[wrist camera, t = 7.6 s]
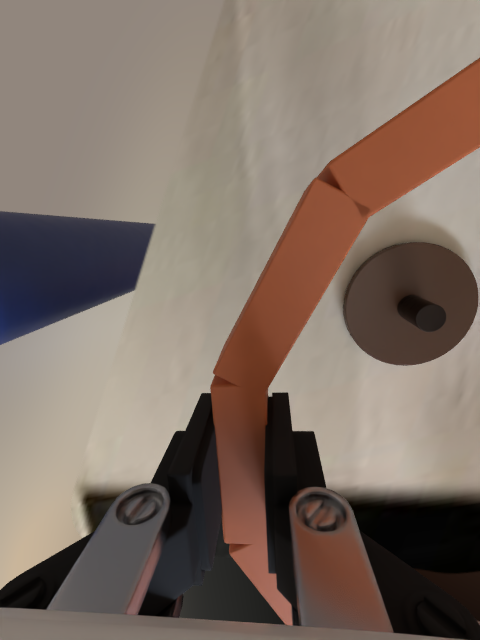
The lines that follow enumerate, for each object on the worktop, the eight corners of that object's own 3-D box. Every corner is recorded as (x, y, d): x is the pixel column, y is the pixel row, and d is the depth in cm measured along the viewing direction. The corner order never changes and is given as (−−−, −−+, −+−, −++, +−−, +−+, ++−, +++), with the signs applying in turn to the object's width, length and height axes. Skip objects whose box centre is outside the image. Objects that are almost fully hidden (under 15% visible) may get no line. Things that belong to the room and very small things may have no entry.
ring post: (341, 362, 25) (353, 384, 22) (345, 245, 23) (359, 247, 19) (463, 361, 24) (499, 384, 21) (480, 238, 22) (523, 240, 18)
